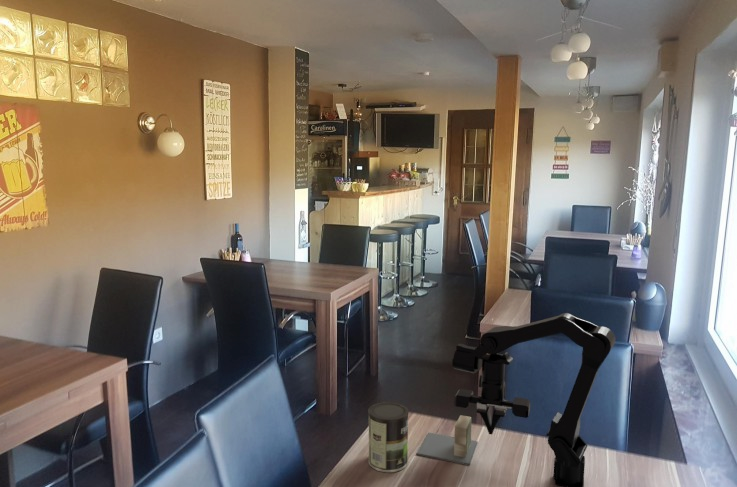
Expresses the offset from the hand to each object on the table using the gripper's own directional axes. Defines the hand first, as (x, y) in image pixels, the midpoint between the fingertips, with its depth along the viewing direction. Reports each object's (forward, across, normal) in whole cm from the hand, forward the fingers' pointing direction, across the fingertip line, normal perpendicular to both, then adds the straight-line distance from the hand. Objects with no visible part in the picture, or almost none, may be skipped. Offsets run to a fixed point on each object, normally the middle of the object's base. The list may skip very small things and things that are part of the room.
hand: (490, 433), depth 141 cm
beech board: (+6, +7, 0) cm, 9 cm away
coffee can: (+7, +24, +12) cm, 28 cm away
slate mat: (+6, +11, 0) cm, 13 cm away
